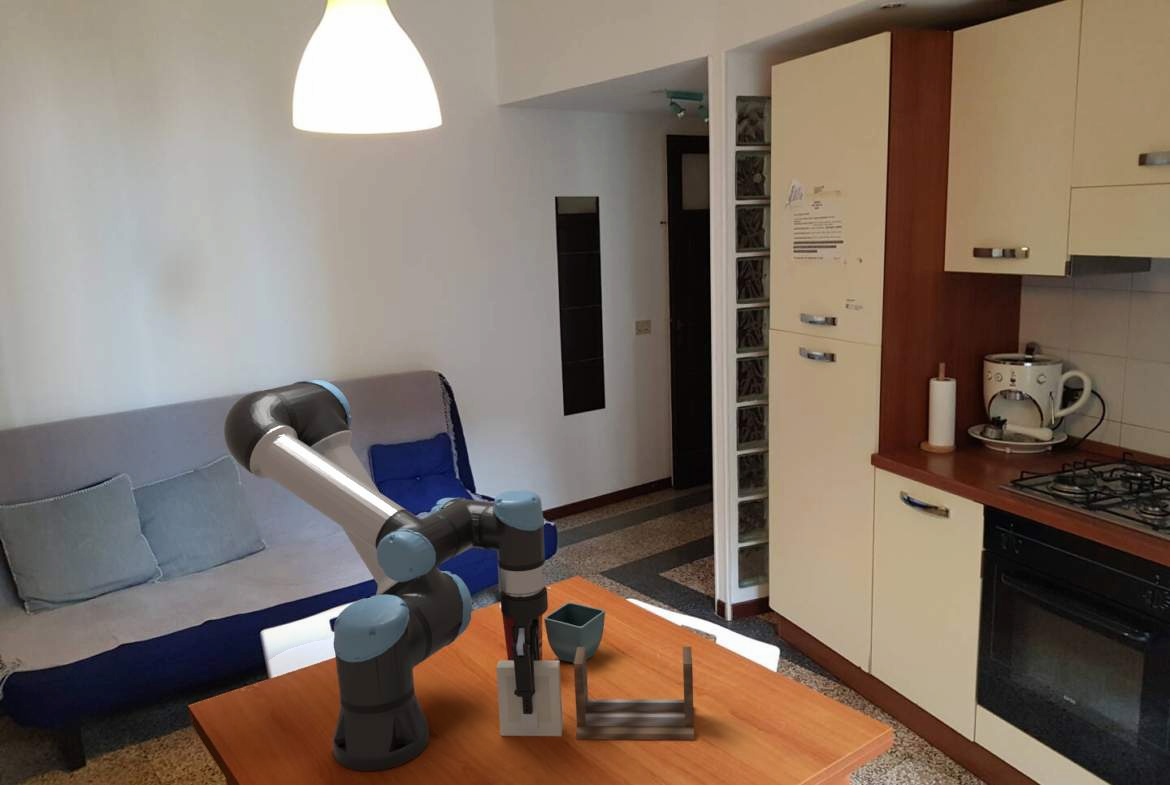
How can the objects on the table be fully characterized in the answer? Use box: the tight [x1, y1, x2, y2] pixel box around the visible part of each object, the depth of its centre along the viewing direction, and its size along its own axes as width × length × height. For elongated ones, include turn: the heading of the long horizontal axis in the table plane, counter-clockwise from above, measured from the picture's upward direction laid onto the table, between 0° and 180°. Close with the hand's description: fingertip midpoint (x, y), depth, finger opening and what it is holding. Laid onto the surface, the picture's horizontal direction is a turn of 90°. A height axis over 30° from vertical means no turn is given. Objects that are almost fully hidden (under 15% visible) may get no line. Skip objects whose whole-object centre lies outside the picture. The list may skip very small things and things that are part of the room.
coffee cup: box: [499, 602, 543, 661], centre depth 165 cm, size 8×8×15 cm
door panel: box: [495, 660, 564, 737], centre depth 146 cm, size 10×2×12 cm, turn 85°
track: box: [573, 646, 695, 741], centre depth 147 cm, size 19×10×12 cm, turn 85°
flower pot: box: [543, 601, 606, 664], centre depth 171 cm, size 9×9×9 cm
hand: (531, 723), depth 146 cm, fingers closed on door panel, 2 cm apart
